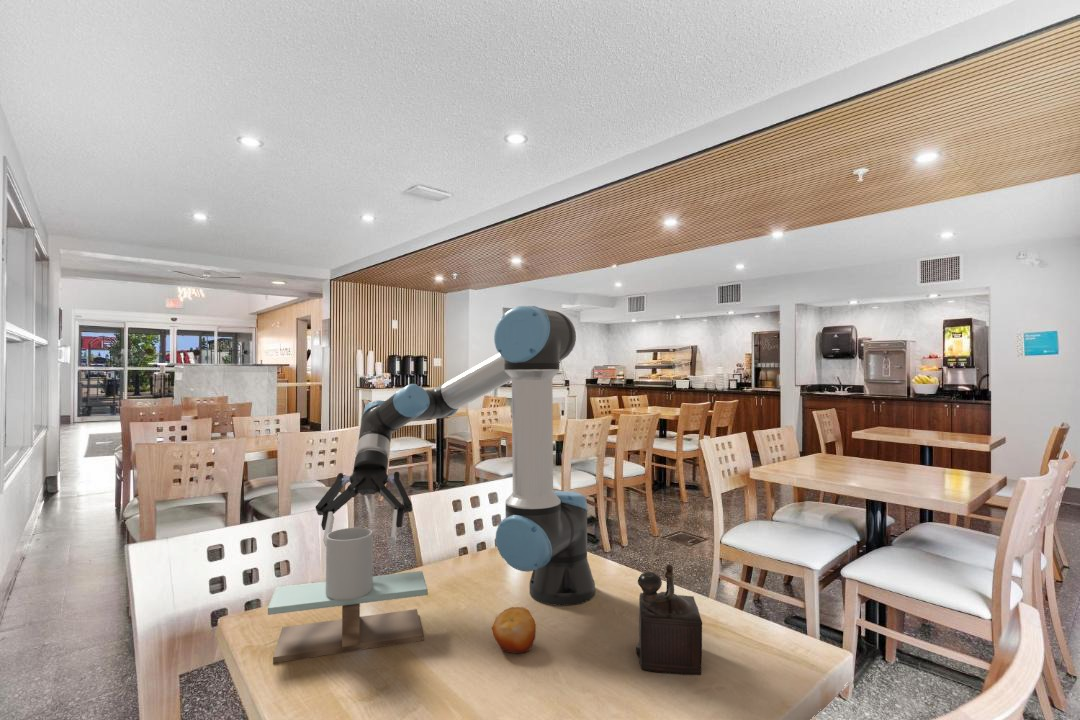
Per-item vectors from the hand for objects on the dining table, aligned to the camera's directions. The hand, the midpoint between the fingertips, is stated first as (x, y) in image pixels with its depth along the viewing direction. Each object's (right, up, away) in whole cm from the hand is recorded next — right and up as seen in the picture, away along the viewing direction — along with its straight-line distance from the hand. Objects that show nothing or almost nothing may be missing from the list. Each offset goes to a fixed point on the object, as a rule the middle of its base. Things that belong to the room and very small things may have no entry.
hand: (359, 541), depth 115 cm
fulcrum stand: (+1, -15, -8) cm, 18 cm away
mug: (+2, -6, -8) cm, 11 cm away
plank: (+1, -7, -8) cm, 11 cm away
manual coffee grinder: (+60, -15, -19) cm, 65 cm away
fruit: (+33, -16, -13) cm, 39 cm away
